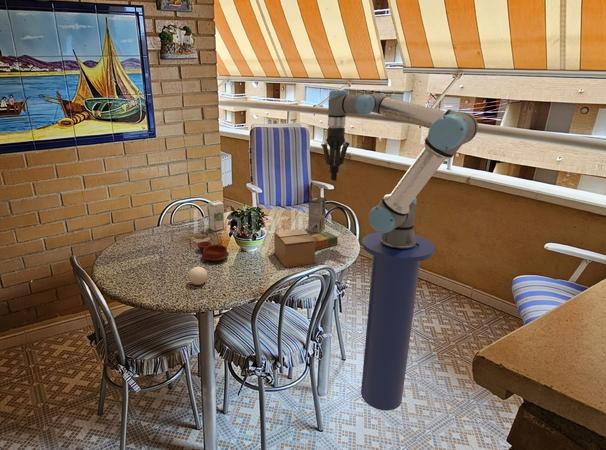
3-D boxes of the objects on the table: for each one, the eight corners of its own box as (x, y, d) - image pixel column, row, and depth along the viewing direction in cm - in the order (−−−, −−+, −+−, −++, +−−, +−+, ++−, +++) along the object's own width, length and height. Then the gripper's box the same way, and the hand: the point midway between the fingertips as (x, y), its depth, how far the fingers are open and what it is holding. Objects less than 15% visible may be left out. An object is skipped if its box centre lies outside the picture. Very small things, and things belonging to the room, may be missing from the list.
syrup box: (218, 226, 216) (217, 199, 211) (224, 229, 211) (223, 202, 207) (209, 228, 213) (207, 201, 208) (214, 231, 208) (213, 204, 204)
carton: (299, 246, 189) (299, 237, 187) (326, 239, 197) (326, 230, 195) (310, 252, 182) (310, 243, 181) (337, 244, 190) (338, 235, 188)
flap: (274, 232, 178) (274, 231, 178) (302, 229, 181) (302, 228, 181) (279, 237, 172) (279, 236, 171) (308, 234, 175) (308, 233, 174)
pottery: (209, 266, 169) (208, 257, 168) (189, 251, 185) (189, 242, 184) (233, 260, 175) (233, 250, 174) (212, 245, 191) (212, 236, 190)
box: (274, 253, 182) (274, 231, 178) (301, 249, 185) (302, 228, 181) (285, 267, 168) (285, 244, 165) (314, 263, 171) (315, 240, 168)
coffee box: (313, 225, 215) (314, 196, 209) (325, 227, 212) (326, 197, 207) (307, 231, 207) (308, 200, 202) (319, 233, 204) (320, 202, 199)
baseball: (212, 282, 156) (211, 266, 154) (197, 289, 151) (196, 273, 149) (200, 277, 161) (199, 261, 158) (185, 284, 155) (184, 268, 153)
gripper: (345, 125, 183) (343, 177, 191) (318, 126, 179) (317, 179, 187) (353, 127, 176) (350, 180, 184) (325, 128, 173) (323, 182, 181)
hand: (333, 179), depth 186 cm, fingers closed
